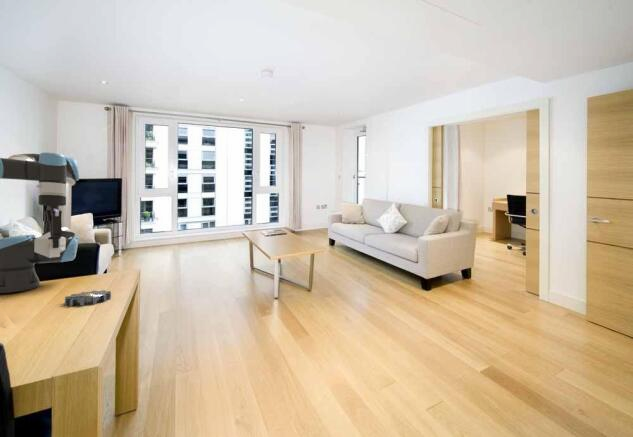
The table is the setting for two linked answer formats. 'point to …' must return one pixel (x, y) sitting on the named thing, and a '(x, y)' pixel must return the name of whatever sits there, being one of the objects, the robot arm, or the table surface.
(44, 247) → the die
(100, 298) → the gear plate
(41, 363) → the table surface
